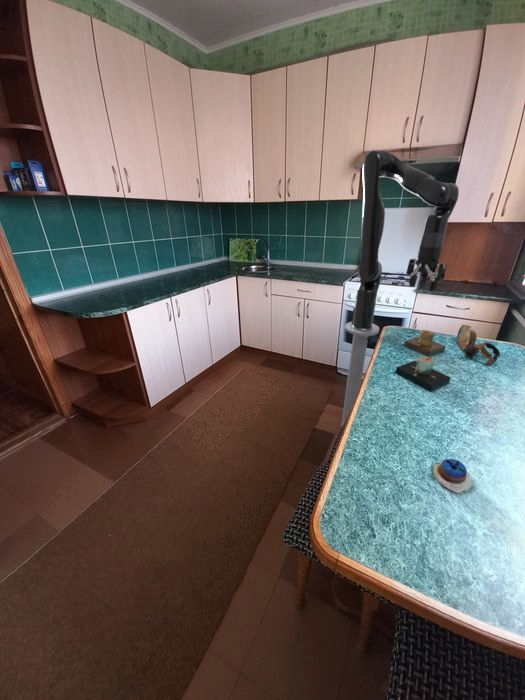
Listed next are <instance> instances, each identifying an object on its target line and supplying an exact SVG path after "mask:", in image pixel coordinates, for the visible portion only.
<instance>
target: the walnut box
mask: <svg viewBox="0 0 525 700" xmlns="http://www.w3.org/2000/svg"><path fill="white" fill-rule="evenodd" d="M419 338H420V335H419V336H415V337H413V338H410V339H406V340H404V344H403V347H406V348H408V349H410V350H412V351H415V352H417V353H420V354H422V355H424V356H425V357H432V356H435V355H438V354H440V353H443V352H445V350H446V345H444V344H442V343H439V342H436V341H434V340H433V341H432V344H431V345H429V346H426V345H422V344H420V343H419Z"/></svg>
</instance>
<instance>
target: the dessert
mask: <svg viewBox="0 0 525 700" xmlns="http://www.w3.org/2000/svg"><path fill="white" fill-rule="evenodd" d="M433 477H434V479H435V480H436V481H437V482H438V483H439V484H440V485H442V486H443V487H444V488H446V489H448V490H451V491H452V492H454V493H456V494H461V493H462V492H467V491H469V490H470V489H471V488H472V484H473V483H472V478H471V475H470V473H468V471H467V468H466V466H465V465H464V463H462V461H460V460H458V459H455V458H445V459H443V460H441V462H440V463H436V464H435V465H434V467H433Z"/></svg>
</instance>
